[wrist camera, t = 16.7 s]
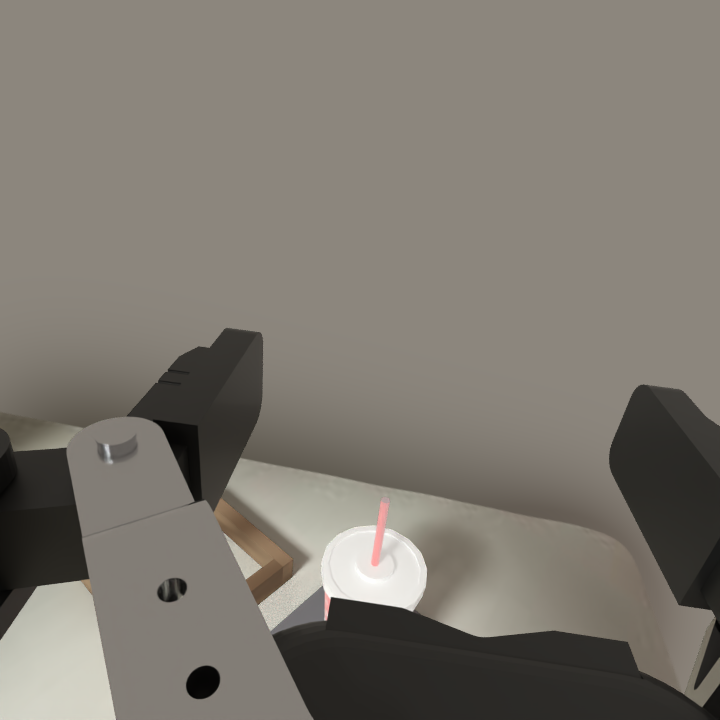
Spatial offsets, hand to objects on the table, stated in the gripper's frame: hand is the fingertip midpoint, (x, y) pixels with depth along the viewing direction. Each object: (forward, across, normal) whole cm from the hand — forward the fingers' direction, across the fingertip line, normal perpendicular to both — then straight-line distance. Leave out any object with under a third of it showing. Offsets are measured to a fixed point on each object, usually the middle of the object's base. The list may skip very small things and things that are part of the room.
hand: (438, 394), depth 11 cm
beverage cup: (+11, 0, +28) cm, 30 cm away
